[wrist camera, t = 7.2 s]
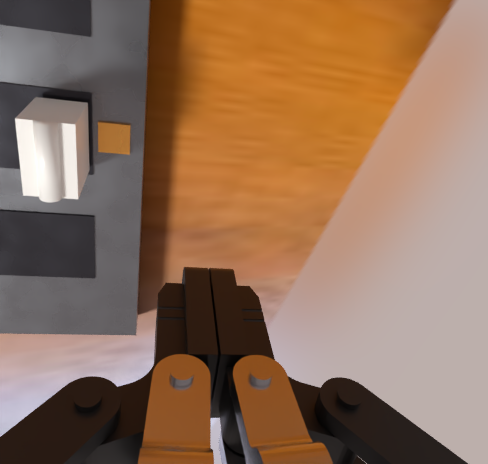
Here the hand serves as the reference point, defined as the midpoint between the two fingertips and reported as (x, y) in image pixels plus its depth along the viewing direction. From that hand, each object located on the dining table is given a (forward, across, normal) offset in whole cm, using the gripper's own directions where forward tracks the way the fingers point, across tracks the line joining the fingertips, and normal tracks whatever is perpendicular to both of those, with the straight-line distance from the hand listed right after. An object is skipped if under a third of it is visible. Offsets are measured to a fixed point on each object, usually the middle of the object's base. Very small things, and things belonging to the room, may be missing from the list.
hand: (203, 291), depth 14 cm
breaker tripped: (+12, +6, 0) cm, 14 cm away
